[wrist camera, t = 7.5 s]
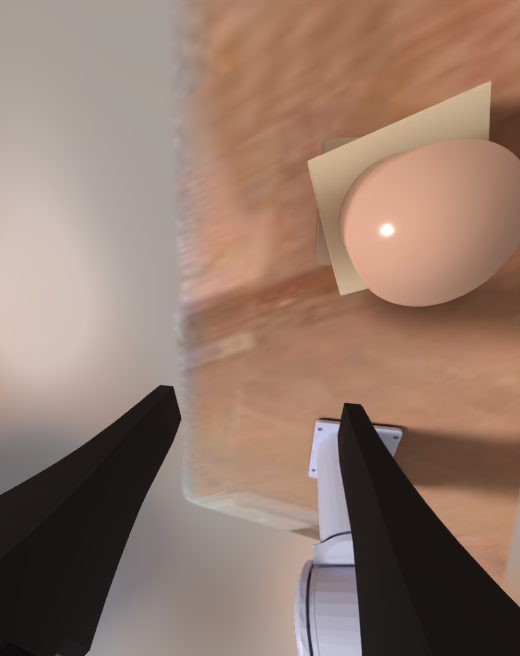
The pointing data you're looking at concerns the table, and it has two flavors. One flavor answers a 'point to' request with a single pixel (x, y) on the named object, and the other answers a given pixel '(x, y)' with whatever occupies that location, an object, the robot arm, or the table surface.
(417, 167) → the tan cylinder
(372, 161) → the tower top
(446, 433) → the table surface
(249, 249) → the table surface
